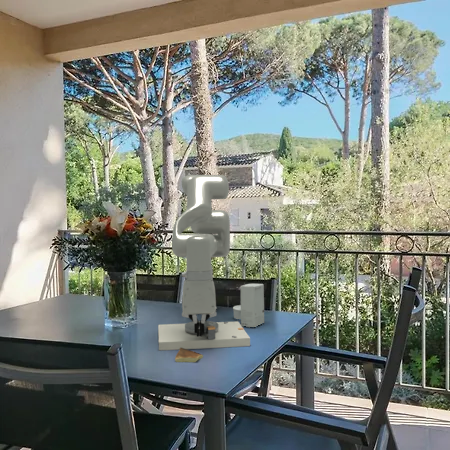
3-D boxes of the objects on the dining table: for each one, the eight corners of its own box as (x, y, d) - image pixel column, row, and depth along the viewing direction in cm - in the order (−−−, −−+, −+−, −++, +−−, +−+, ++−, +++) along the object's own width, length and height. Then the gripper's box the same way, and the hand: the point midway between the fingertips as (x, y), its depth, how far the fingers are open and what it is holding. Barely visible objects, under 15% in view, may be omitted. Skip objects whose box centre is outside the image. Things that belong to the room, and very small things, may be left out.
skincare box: (254, 328, 173) (254, 286, 172) (239, 326, 176) (239, 285, 175) (264, 323, 180) (264, 283, 180) (250, 321, 183) (250, 282, 182)
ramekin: (259, 319, 186) (259, 308, 186) (238, 322, 183) (238, 310, 183) (249, 315, 194) (249, 304, 194) (229, 317, 191) (229, 306, 191)
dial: (181, 327, 164) (181, 316, 164) (213, 324, 167) (213, 314, 167) (194, 341, 147) (194, 329, 147) (229, 338, 150) (228, 326, 150)
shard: (180, 352, 147) (180, 346, 147) (205, 352, 147) (205, 346, 147) (174, 363, 137) (173, 357, 137) (201, 364, 136) (201, 357, 136)
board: (158, 331, 169) (158, 323, 169) (238, 328, 173) (238, 320, 173) (158, 350, 147) (158, 341, 147) (250, 346, 151) (250, 337, 151)
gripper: (173, 278, 146) (174, 339, 147) (223, 277, 146) (224, 338, 147) (175, 274, 153) (175, 332, 154) (222, 274, 154) (223, 331, 155)
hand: (199, 335), depth 151 cm, fingers closed
